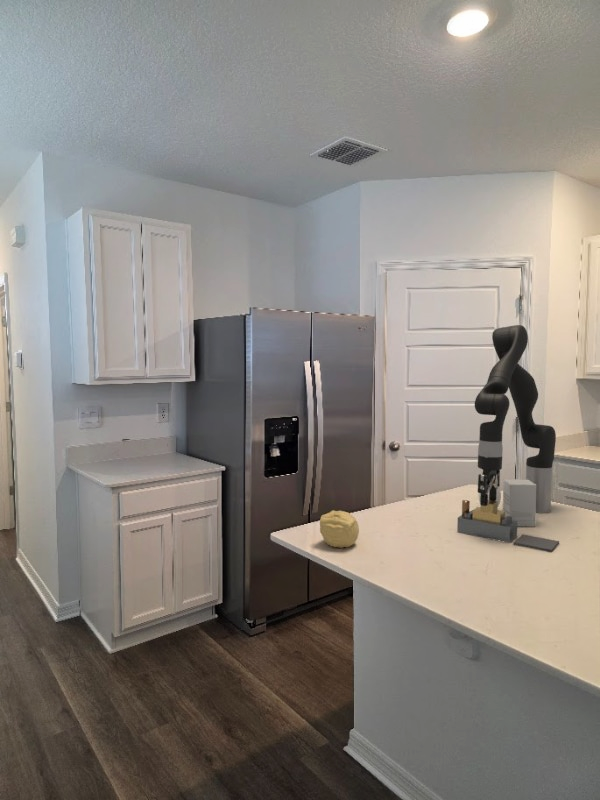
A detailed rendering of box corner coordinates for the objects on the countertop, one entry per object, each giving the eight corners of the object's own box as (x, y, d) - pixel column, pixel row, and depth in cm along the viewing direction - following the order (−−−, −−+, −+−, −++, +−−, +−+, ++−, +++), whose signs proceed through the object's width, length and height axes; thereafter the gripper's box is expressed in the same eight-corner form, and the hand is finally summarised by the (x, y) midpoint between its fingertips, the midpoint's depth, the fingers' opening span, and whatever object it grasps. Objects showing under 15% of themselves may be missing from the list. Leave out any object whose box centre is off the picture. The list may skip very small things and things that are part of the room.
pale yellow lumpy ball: (315, 547, 162) (315, 513, 161) (330, 536, 173) (330, 503, 172) (350, 553, 157) (350, 518, 156) (363, 541, 168) (364, 508, 167)
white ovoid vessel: (474, 509, 205) (475, 463, 204) (491, 508, 208) (492, 462, 206) (487, 515, 198) (488, 467, 197) (504, 513, 200) (506, 466, 199)
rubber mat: (522, 536, 173) (522, 534, 173) (559, 543, 166) (559, 541, 166) (513, 544, 165) (513, 542, 165) (551, 552, 159) (551, 549, 159)
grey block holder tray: (466, 526, 184) (466, 498, 183) (516, 536, 173) (517, 506, 173) (457, 532, 178) (458, 502, 177) (509, 542, 167) (510, 511, 166)
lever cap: (477, 515, 180) (478, 498, 179) (504, 520, 174) (505, 502, 174) (472, 518, 176) (473, 501, 175) (500, 524, 170) (500, 505, 170)
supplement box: (527, 519, 192) (528, 479, 191) (535, 527, 184) (537, 484, 182) (501, 518, 193) (502, 478, 192) (508, 526, 184) (510, 483, 183)
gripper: (486, 450, 181) (484, 497, 182) (470, 455, 170) (469, 505, 171) (508, 453, 177) (506, 500, 178) (494, 458, 166) (492, 509, 167)
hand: (488, 502), depth 174 cm, fingers open, 8 cm apart
